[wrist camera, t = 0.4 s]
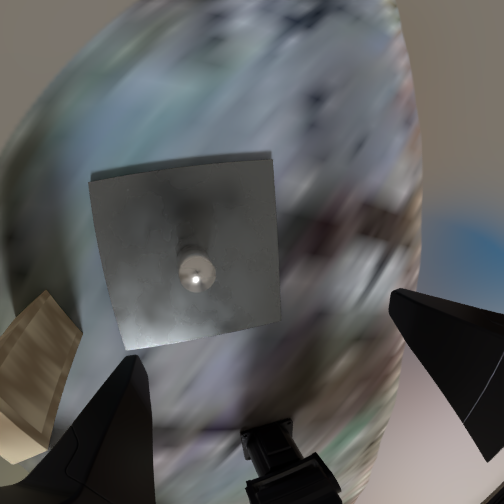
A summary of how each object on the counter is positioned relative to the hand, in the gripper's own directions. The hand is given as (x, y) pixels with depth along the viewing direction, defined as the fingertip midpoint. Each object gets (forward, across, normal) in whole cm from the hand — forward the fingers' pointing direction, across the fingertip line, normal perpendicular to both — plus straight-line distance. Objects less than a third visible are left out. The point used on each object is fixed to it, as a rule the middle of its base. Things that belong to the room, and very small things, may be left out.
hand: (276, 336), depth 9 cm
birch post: (+13, +17, +5) cm, 22 cm away
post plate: (+14, +3, +2) cm, 15 cm away
